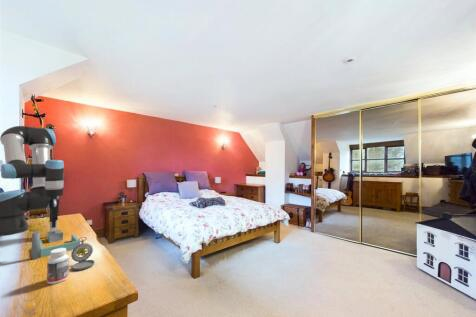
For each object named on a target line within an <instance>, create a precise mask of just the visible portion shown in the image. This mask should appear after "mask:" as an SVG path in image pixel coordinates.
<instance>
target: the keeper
mask: <svg viewBox="0 0 476 317" xmlns="http://www.w3.org/2000/svg"><path fill="white" fill-rule="evenodd" d="M78 239H79V238H78V237H77V235H76V234H75V233H71V240H70V241H71V242H66V243H65V242H64V243H62V244H57V245H51V246H47V247H44V244H43V241H42V240H41V232H39V231H38V230H35V231H33V233H32V234H31V260H37V259H39V258H43V257H48V256H50V252H51V251H52V250H54V249H58V248H66V252H68V251H73V249H74V248H75V247H76V246H77V245H79V244H81V242H80V241H81V240H80V239H79V241H78Z"/></svg>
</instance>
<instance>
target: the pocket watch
mask: <svg viewBox="0 0 476 317" xmlns="http://www.w3.org/2000/svg"><path fill="white" fill-rule="evenodd" d="M82 238H85V239H82ZM80 239H81V240H80ZM79 240H80V244H79V245H77V246H76V247H75V248H74V249H73V250H71V254H70V255H71V256H70V257H71V259H72V260H73V261H74V262H75V263H74V264H73V265H72V267H71V268H72V269H73V270H75V271H81V270H86V269H89V268H91V267H92V266H93V265H94V264H95V260H94V259H89V258H90V257H91V256H92V254H93V252H94V248H93V246H92V245H91V244H90V243H88V242H85V241H87V237H86V236H82V237H80V238H78V241H79Z"/></svg>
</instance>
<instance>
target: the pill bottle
mask: <svg viewBox="0 0 476 317" xmlns="http://www.w3.org/2000/svg"><path fill="white" fill-rule="evenodd" d="M49 256H50V257H49V258H48V259H47V261H46V262H47V264H46V266H47V267H46V268H47V269H46V283H47V284H48V285H55V284H59V283H62V282H64V281H65V280H67V279H68V278H69V272H70V271H69V270H70V269H69V267H70V263H69V262H70V256H69V255H68V254H67V251H66V248H58V249H54V250H52V251H51V252H50V255H49Z"/></svg>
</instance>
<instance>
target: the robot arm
mask: <svg viewBox="0 0 476 317" xmlns="http://www.w3.org/2000/svg"><path fill="white" fill-rule="evenodd" d="M56 143H57V138H56V135H55V132H54V130H53V129H51V128H45V127H38V126H37V127H35V126H25V125H16V126H15V125H14V126H12V127H10V128H7V129H6V130H4V131H3V132H2V133H1V134H0V144H1V145H2V146H3V151H4V160H5V163H3V164H1V165H0V177H1V178H2V179H5V180H6V179H11V180H15V179H31V178H32V186H31V187H30V188H29V191H26V189H24V188H23V189H15V190H8V191H3V192H0V237H1V236H2V235H3V236H9V235H15V234H19V233H23V232H25V231H28V230H29V223H28V220H27V219H26V216H25V213H26V212H30V211H31V212H32V211H39V210H47V209H49V217H48V218H49V220H48V223H49V232H51V231H56V230H58V220H59V217H58V216H59V215H58V214H59V203H60V199H59V197H61V196H64V184H65V182H64V181H65V179H64V171H65V170H64V169H65V165H64V162H65V161H64V160H62V159H51V150H52V149H53V147H55V146H56ZM24 145H26V146H28V148H29V149H30V150H31V160H32V161H31V163H27V159H26V155H25V150H24Z"/></svg>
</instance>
